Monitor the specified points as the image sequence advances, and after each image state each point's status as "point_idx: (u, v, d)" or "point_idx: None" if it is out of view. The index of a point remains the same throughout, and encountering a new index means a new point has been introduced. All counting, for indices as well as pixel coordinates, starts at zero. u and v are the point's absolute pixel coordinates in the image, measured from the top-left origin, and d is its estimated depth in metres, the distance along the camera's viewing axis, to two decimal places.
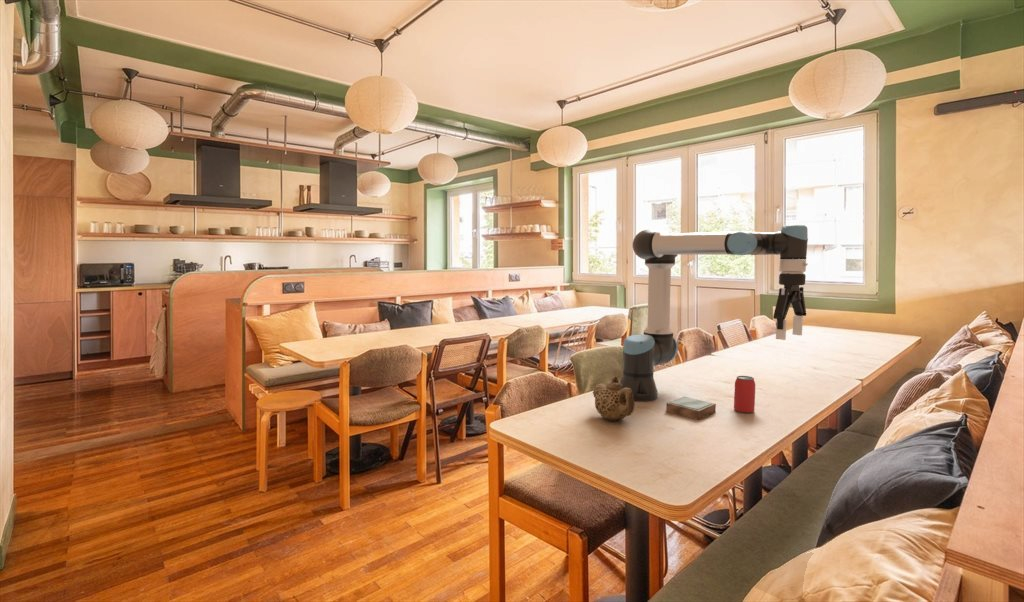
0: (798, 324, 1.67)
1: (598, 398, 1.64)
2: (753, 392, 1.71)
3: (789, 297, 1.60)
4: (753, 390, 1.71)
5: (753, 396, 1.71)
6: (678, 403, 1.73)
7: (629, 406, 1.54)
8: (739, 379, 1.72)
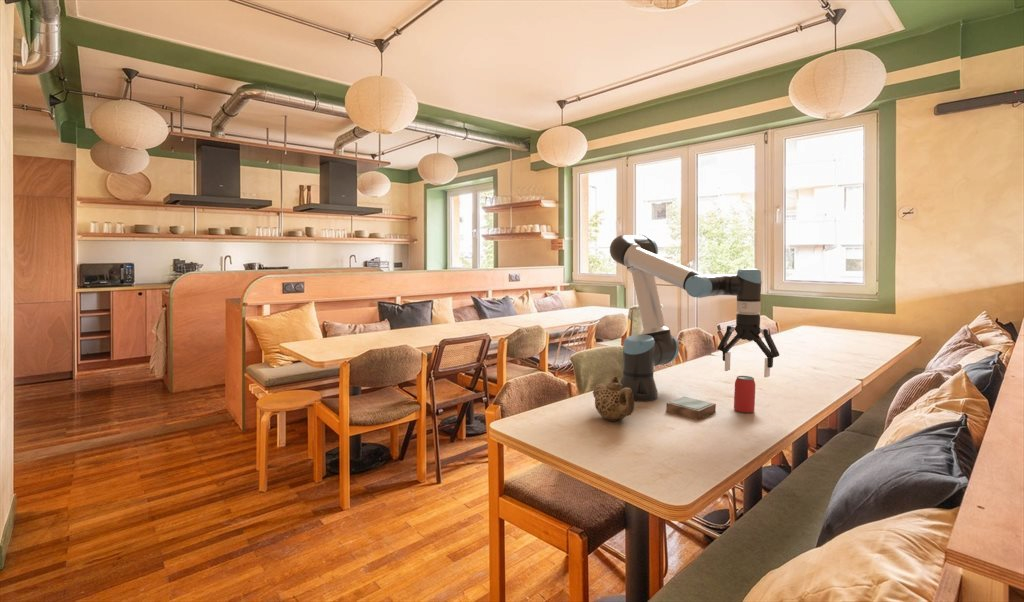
0: None
1: (598, 398, 1.64)
2: (753, 392, 1.71)
3: None
4: (753, 390, 1.71)
5: (753, 396, 1.71)
6: (678, 403, 1.73)
7: (629, 406, 1.54)
8: (739, 379, 1.72)
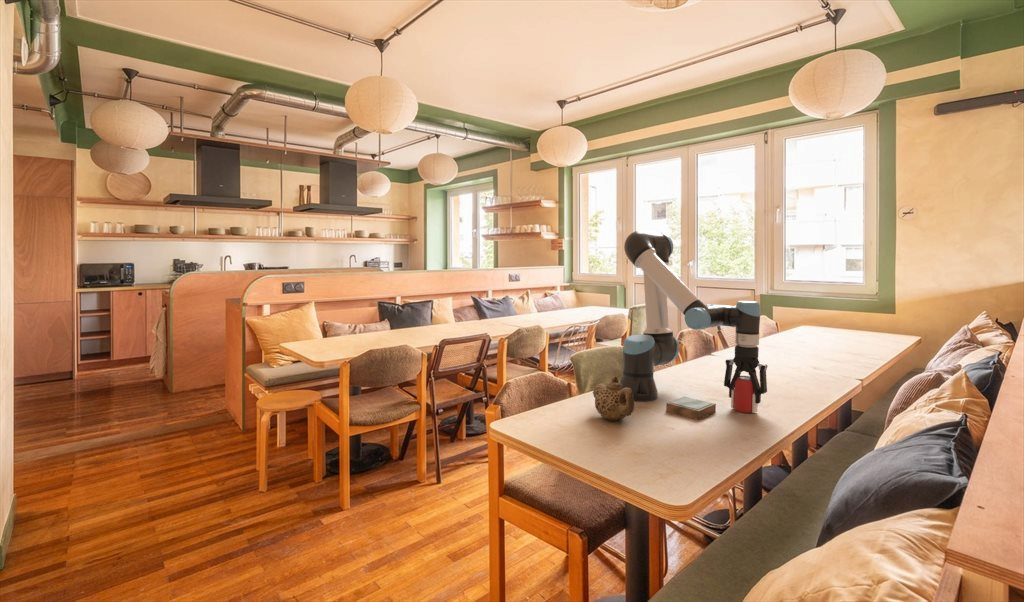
0: None
1: (598, 398, 1.64)
2: (753, 392, 1.71)
3: None
4: (753, 390, 1.71)
5: None
6: (678, 403, 1.73)
7: (629, 406, 1.54)
8: (739, 379, 1.72)
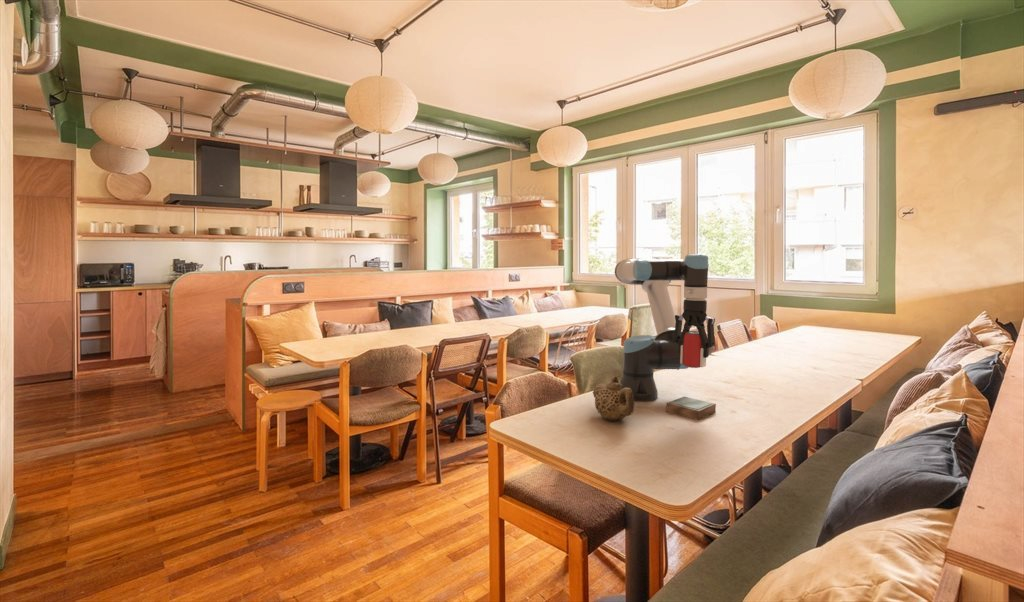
0: None
1: (598, 398, 1.64)
2: (701, 346, 1.69)
3: None
4: (701, 344, 1.69)
5: None
6: (678, 403, 1.73)
7: (629, 406, 1.54)
8: (687, 333, 1.70)
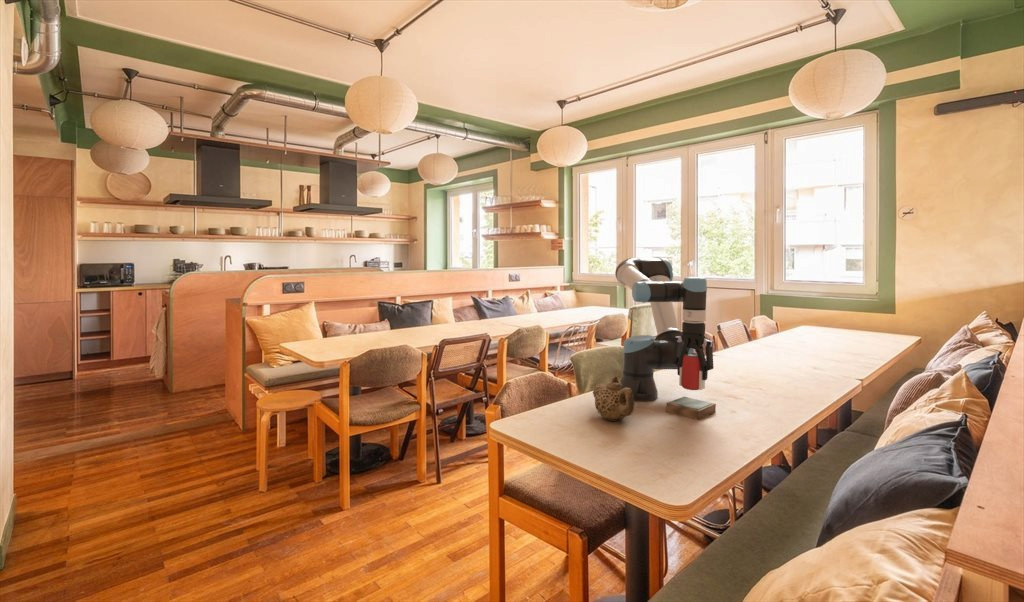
0: None
1: (598, 398, 1.64)
2: (699, 369, 1.69)
3: None
4: (700, 367, 1.69)
5: None
6: (678, 403, 1.73)
7: (629, 406, 1.54)
8: (686, 356, 1.70)
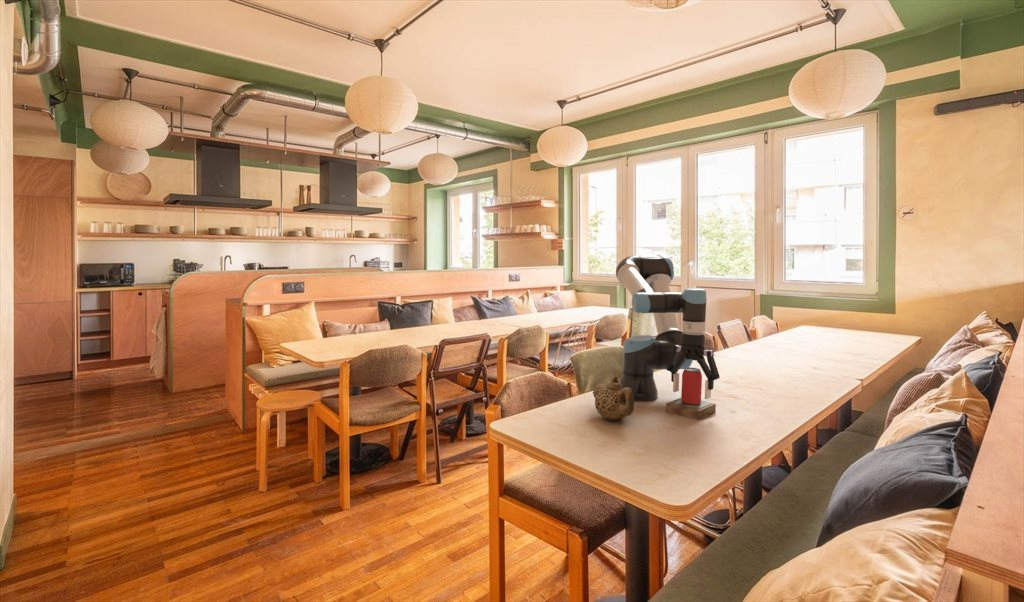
0: None
1: (598, 398, 1.64)
2: (699, 384, 1.70)
3: None
4: (699, 382, 1.70)
5: (699, 388, 1.70)
6: (678, 403, 1.73)
7: (629, 406, 1.54)
8: (686, 371, 1.71)
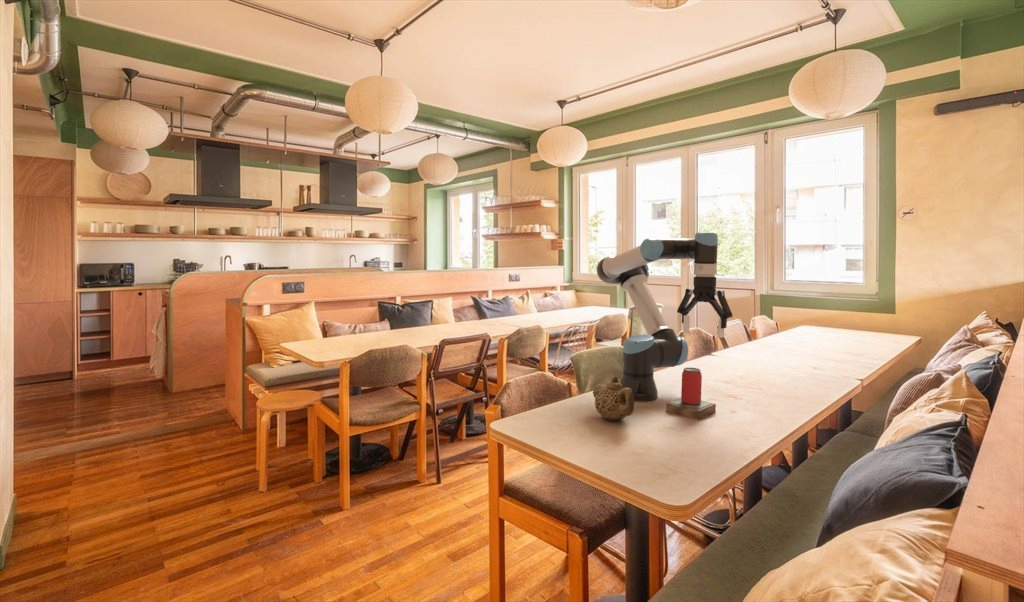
0: None
1: (598, 398, 1.64)
2: (699, 384, 1.70)
3: None
4: (699, 382, 1.70)
5: (699, 388, 1.70)
6: (678, 403, 1.73)
7: (629, 406, 1.54)
8: (685, 371, 1.71)
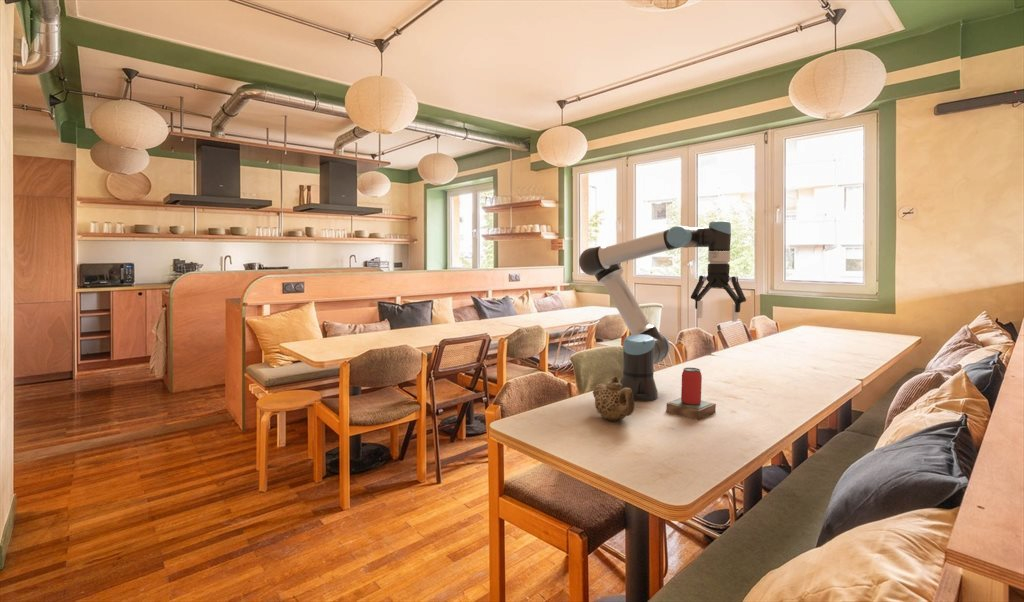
0: None
1: (598, 398, 1.64)
2: (699, 384, 1.70)
3: None
4: (699, 382, 1.70)
5: (699, 388, 1.70)
6: (678, 403, 1.73)
7: (629, 406, 1.54)
8: (685, 371, 1.71)
